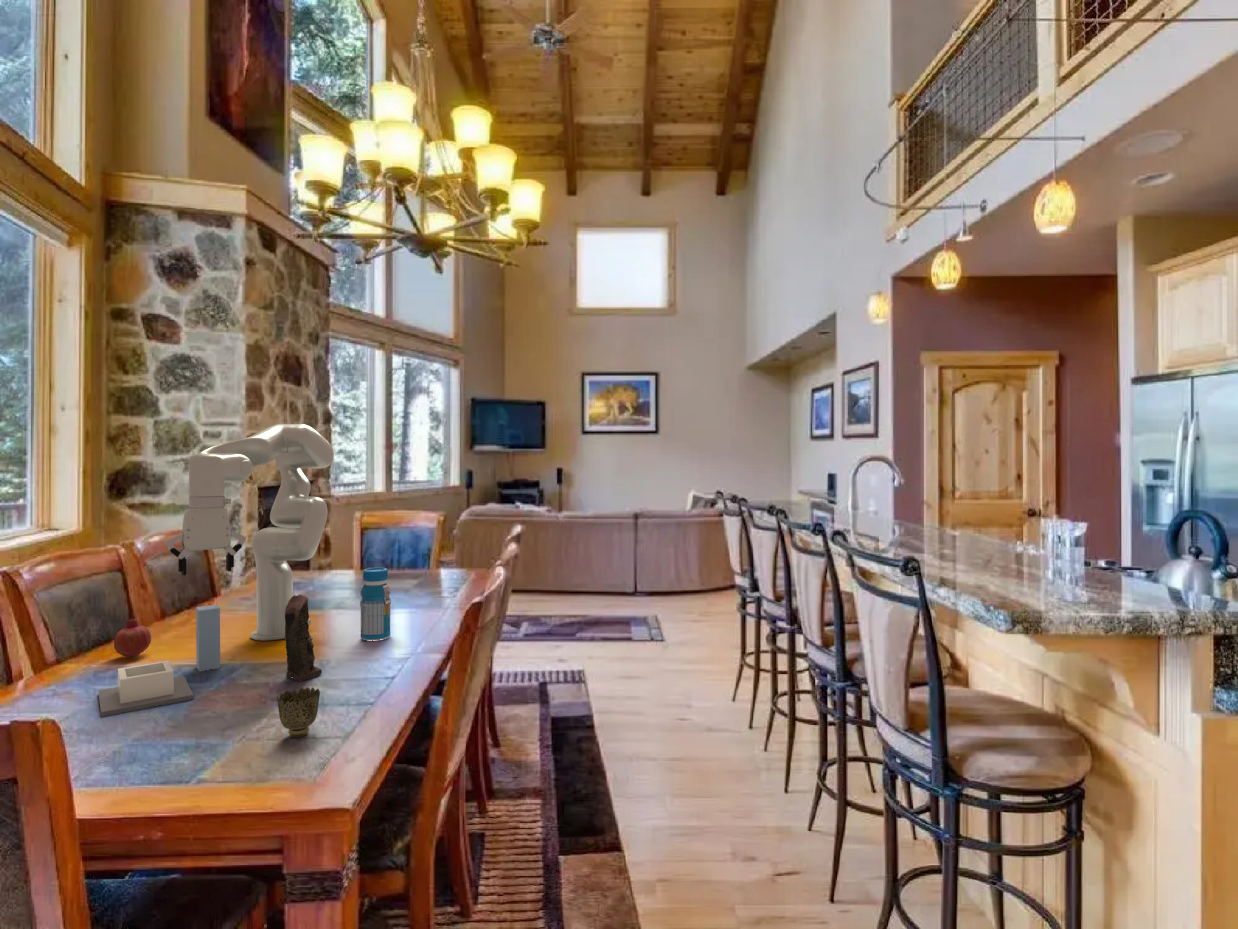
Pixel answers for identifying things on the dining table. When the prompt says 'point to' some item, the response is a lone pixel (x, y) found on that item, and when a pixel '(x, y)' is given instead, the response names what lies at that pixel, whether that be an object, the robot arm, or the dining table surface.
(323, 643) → the dining table surface
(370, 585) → the beverage bottle
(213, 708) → the dining table surface
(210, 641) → the post
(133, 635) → the fruit
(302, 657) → the statue
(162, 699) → the well
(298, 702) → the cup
